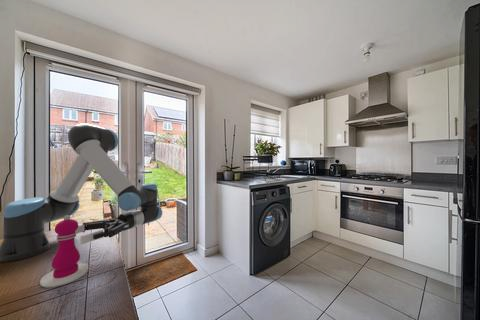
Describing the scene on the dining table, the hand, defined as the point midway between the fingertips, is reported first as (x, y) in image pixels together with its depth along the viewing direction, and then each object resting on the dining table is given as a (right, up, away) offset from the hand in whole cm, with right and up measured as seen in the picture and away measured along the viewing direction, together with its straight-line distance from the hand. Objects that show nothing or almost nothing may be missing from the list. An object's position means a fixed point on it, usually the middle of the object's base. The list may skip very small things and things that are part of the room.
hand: (71, 236), depth 64 cm
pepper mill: (-1, -12, -1) cm, 12 cm away
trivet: (-1, -13, -1) cm, 13 cm away
